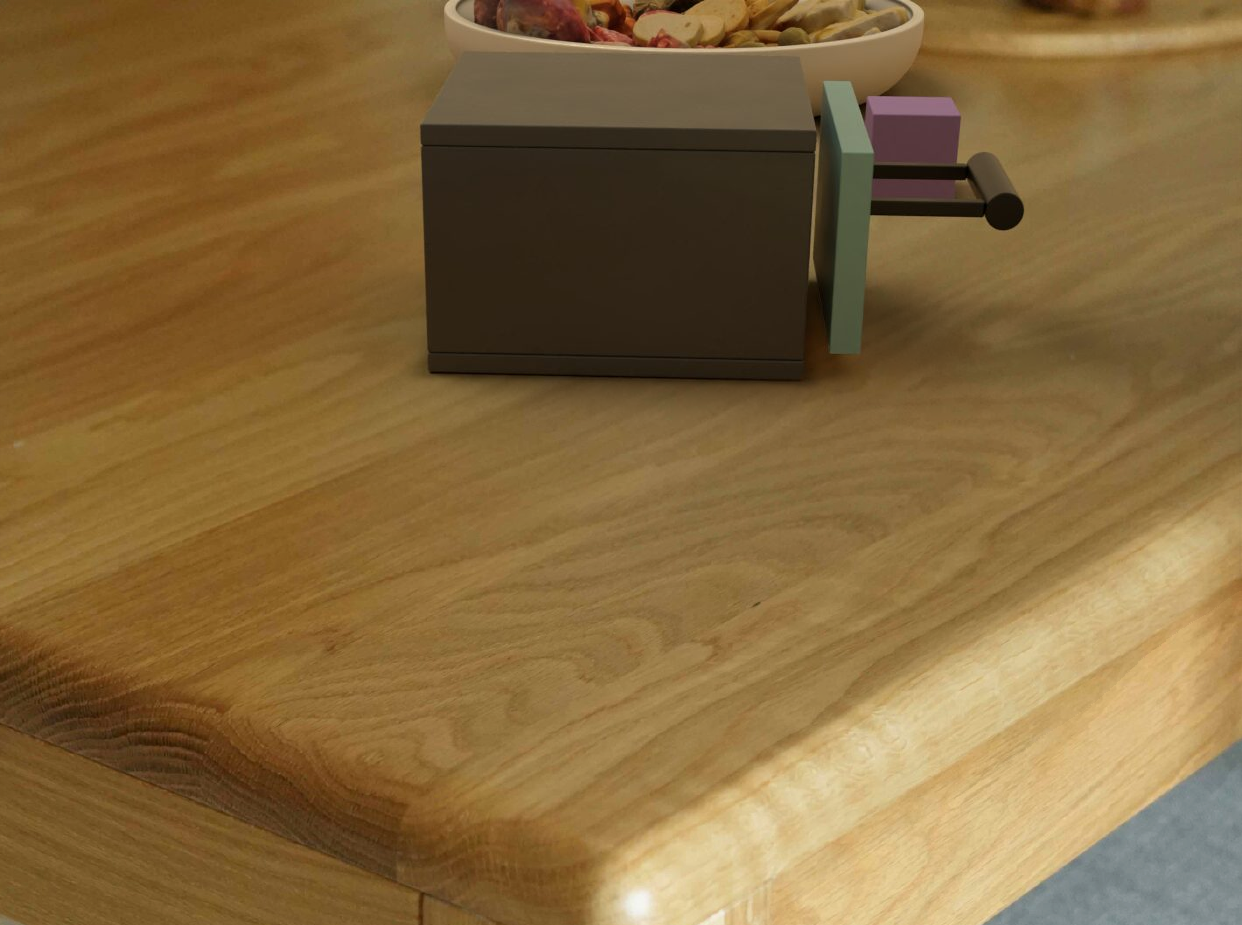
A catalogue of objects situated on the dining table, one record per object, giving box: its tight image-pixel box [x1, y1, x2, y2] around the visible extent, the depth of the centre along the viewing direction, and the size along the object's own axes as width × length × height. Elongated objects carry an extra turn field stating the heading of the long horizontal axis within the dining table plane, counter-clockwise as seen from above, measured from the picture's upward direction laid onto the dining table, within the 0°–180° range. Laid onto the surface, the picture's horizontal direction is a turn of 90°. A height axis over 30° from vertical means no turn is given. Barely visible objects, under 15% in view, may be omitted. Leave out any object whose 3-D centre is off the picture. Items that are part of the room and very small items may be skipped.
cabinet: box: [419, 51, 818, 381], centre depth 82 cm, size 15×15×10 cm
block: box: [864, 95, 962, 199], centre depth 103 cm, size 4×4×4 cm
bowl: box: [443, 0, 925, 118], centre depth 126 cm, size 30×30×8 cm
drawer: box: [812, 81, 1025, 355], centre depth 82 cm, size 20×13×8 cm
